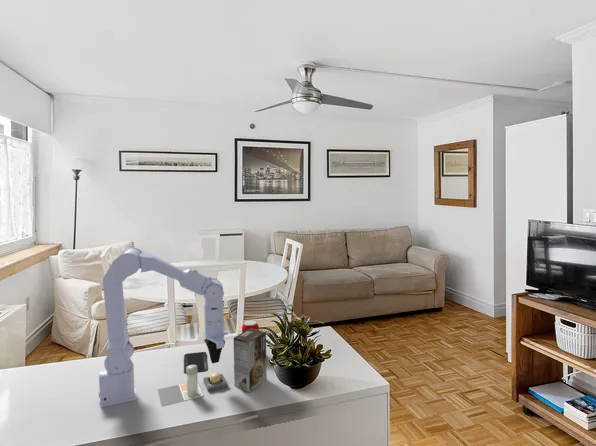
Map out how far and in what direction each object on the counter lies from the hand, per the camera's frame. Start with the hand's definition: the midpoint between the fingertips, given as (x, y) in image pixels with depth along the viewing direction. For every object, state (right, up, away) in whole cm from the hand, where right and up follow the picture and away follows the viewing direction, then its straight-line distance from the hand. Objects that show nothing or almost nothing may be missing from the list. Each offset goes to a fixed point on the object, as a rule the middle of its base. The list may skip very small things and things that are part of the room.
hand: (215, 361), depth 120 cm
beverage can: (+8, -6, +24) cm, 26 cm away
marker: (-6, -8, -5) cm, 11 cm away
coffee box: (+11, -8, +3) cm, 14 cm away
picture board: (-9, -8, -4) cm, 13 cm away
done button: (0, -7, +1) cm, 7 cm away
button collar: (0, -8, +1) cm, 8 cm away
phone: (-10, -7, +16) cm, 20 cm away
